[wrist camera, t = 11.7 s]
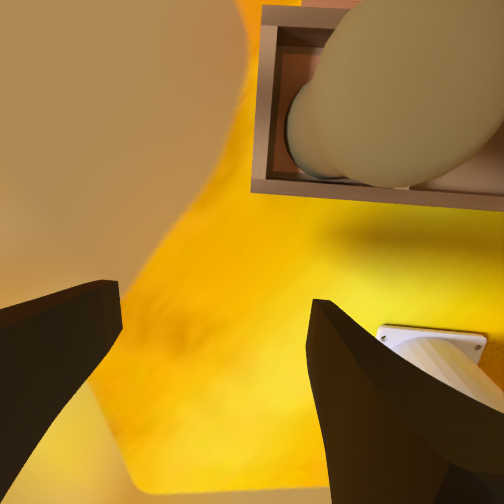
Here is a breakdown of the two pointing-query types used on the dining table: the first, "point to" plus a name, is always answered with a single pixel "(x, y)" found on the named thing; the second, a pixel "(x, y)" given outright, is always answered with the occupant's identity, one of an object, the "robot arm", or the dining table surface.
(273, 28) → the spice rack
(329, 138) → the pepper mill
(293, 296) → the dining table surface
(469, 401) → the robot arm
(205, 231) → the dining table surface
